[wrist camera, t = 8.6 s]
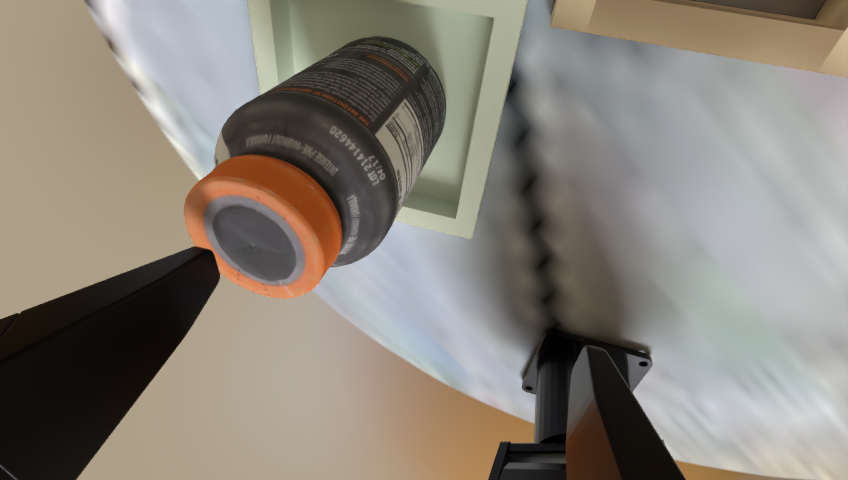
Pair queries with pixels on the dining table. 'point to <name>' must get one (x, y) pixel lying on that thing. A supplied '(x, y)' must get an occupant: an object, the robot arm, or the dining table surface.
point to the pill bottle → (318, 167)
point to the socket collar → (718, 30)
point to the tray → (448, 55)
